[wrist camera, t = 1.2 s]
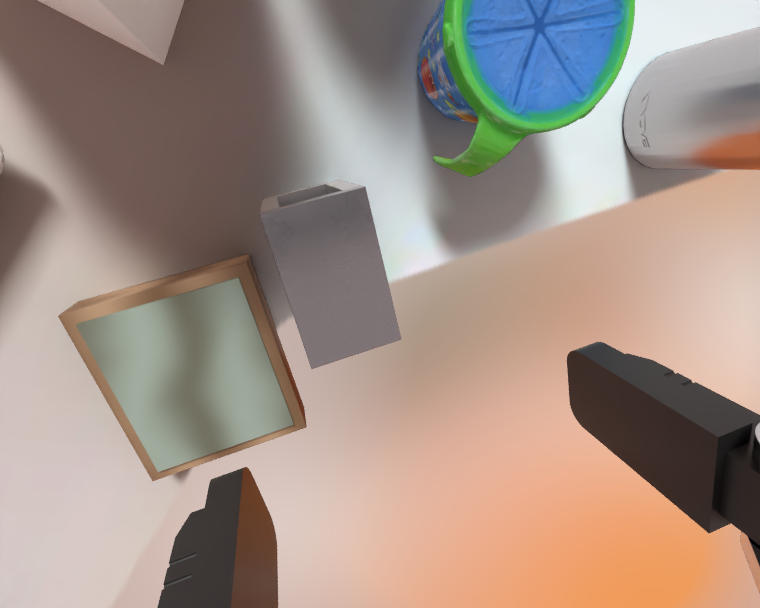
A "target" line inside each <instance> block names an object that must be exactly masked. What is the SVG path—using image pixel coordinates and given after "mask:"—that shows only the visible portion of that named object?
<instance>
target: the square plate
mask: <svg viewBox="0 0 760 608" xmlns="http://www.w3.org/2000/svg"><path fill="white" fill-rule="evenodd" d="M4 163H5V159H4V155H3V149H2V147H1V146H0V174H1V172H2V170H3V167H4Z"/></svg>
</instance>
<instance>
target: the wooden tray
mask: <svg viewBox="0 0 760 608" xmlns="http://www.w3.org/2000/svg"><path fill="white" fill-rule="evenodd" d="M58 317H59V319H60V320H61V322H62V324H63V326H64V327H65V329H66V331H67V333H68V334H69V336H70V338H71V340H72V341H73V343H74V345H75V347H76V348H77V350H78V352H79V354H80V355H81V357H82V359H83V361H84V362H85V364H86V366H87V368H88V369H89V371H90V373H91V375H92V376H93V378H94V380H95V382H96V383H97V385H98V387H99V388H100V390H101V392H102V394H103V395H104V397H105V399H106V401H107V402H108V404H109V406H110V408H111V409H112V411H113V413H114V415H115V416H116V418H117V420H118V422H119V423H120V425H121V427H122V429H123V430H124V432H125V434H126V436H127V437H128V439H129V441H130V443H131V444H132V446H133V448H134V450H135V451H136V453H137V455H138V457H139V458H140V460H141V462H142V464H143V465H144V467H145V469H146V470H147V472H148V474H149V476H150V477H151V479H152V481H155V480H158V479H160V478H163V477H166V476H169V475H172V474H175V473H178V472H180V471H183V470H186V469H189V468H192V467H195V466H197V465H200V464H203V463H206V462H209V461H212V460H214V459H217V458H220V457H223V456H225V455H229V454H231V453H234V452H237V451H240V450H243V449H246V448H249V447H251V446H254V445H257V444H260V443H263V442H265V441H269V440H271V439H274V438H277V437H280V436H283V435H286V434H288V433H291V432H294V431H297V430H300V429H303V428H306V419H305V413H304V406H303V403H302V400H301V398H300V395H299V392H298V389H297V387H296V384H295V381H294V378H293V376H292V373H291V370H290V368H289V364H288V362H287V359H286V356H285V353H284V351H283V348H282V345H281V343H280V340H279V337H278V334H277V331H276V328H275V326H274V323H273V320H272V317H271V315H270V312H269V309H268V306H267V304H266V301H265V298H264V295H263V292H262V290H261V287H260V284H259V281H258V279H257V276H256V273H255V270H254V267H253V265H252V262H251V259H250V256H249V254H246V255H243V256H239V257H235V258H232V259H228V260H225V261H221V262H218V263H214V264H210V265H207V266H203V267H200V268H196V269H193V270H189V271H186V272H182V273H178V274H175V275H171V276H168V277H164V278H161V279H157V280H153V281H150V282H146V283H143V284H139V285H136V286H132V287H128V288H125V289H121V290H118V291H114V292H111V293H107V294H103V295H100V296H96V297H93V298H89V299H86V300H82V301H78V302H77V303H76V304H74V305H73V306H71V307H70V308H69V309H67V310H66V311H64V312H63V313H62V314H60V315H59V316H58Z"/></svg>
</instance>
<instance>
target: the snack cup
mask: <svg viewBox="0 0 760 608" xmlns="http://www.w3.org/2000/svg"><path fill="white" fill-rule="evenodd" d="M634 12H635V0H442V1H441V3H440V4H439V6H438V8H437V10H436V11H435V13H434V15H433V17H432V19H431V21H430V23H429V25H428V26H427V29H426V31H425V33H424V36H423V38H422V42H421V45H420V52H419V57H418V61H419V64H418V73H419V79H420V81H421V84H422V86H423V89H424V91H425V93H426V95H427V97H428V98H429V100H430V101H431V103H432V104H433V105H434V106H435V107H436V108H437V109H438V110H439V111H440V112H441V113H442V114H444V116H447V117H449V118H452V119H454V120H458V121H463V122H471V123H477V127H476V130H475V134H474V136H473V138H472V141H471V143H470V145H469V147H468V149H467V150H466V151H465V152H463V153H461V154H460V155H459V156H457V157H455V158H454V159H450V158H443V157H438V156H434V158H433V160H434V161H435V162H436V163H438V164H440V165H442V166H444V167H446V168H449V169H451V170H453V171H456V172H458V173H460V174H463V175H466V176H469V177H471V176H475V175H477V174H479V173H481V172H483V171H485V170H486V169H488V168H490V167H491V166H493V165H494V164H496V163H498V162H499V161H500V160H501V159H502V158H504V157H505V156H506V155H507V154H508V153H509V152H510V151H511V150H512V149H513V148H514V147H515V146H516V145H517V144H518V143H519V142H520V141H521V140H522V139H523V138H524V137H525V136H527V135H529V134H532V133H541V132H547V131H551V130H555V129H559V128H562V127H565V126H567V125H569V124H571V123H573V122H575V121H576V120H578V119H581V118H583V117H585V116H586V115H587V114H588V113H590V112H591V111H592V109H593V108H594V107H595V105H596V104H597V103H598V102H599V101H600V100H601V99H602V98H603V97H604V95H605V94H606V93H607V91H608V90H609V88H610V87H611V85H612V84H613V82H614V81H615V79H616V77H617V75H618V73H619V71H620V70H621V67H622V64H623V62H624V59H625V57H626V54H627V51H628V48H629V44H630V40H631V35H632V30H633V23H634Z"/></svg>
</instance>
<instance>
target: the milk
mask: <svg viewBox="0 0 760 608" xmlns="http://www.w3.org/2000/svg"><path fill="white" fill-rule="evenodd" d="M37 1H39V2H41V3H43V4H45V5H47V6H49V7H51V8H53V9H55V10H57V11H59V12H61V13H63V14H65V15H67V16H68V17H70V18H72V19H74V20H76V21H78V22H80V23H82V24H84V25H86V26H88V27H90V28H92V29H94V30H96V31H98V32H100V33H102V34H104V35H105V36H107V37H109V38H111V39H113V40H115V41H117V42H119V43H121V44H123V45H125V46H127V47H129V48H131V49H133V50H135V51H137V52H139V53H141V54H142V55H144V56H146V57H148V58H150V59H152V60H154V61H156V62H158V63H160V64H162V65H164V62H165V59H166V56H167V53H168V50H169V47H170V44H171V41H172V37H173V34H174V31H175V28H176V25H177V22H178V19H179V16H180V13H181V10H182V7H183V3H184V0H37Z"/></svg>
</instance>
